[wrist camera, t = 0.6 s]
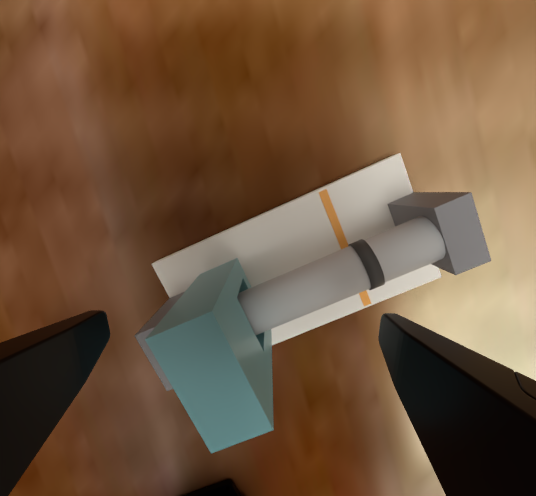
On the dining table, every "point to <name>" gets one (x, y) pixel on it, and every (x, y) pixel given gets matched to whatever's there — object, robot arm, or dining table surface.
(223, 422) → the sleeve collar
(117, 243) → the dining table surface
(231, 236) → the pipe rig
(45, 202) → the dining table surface
